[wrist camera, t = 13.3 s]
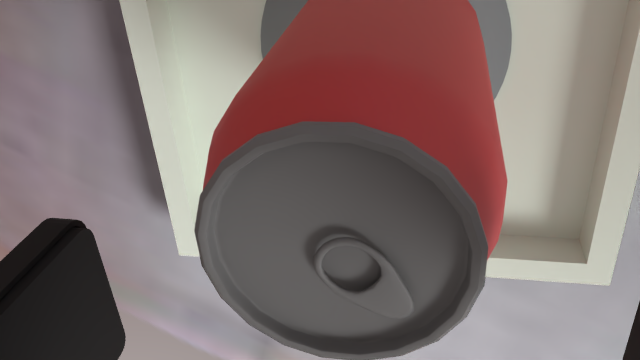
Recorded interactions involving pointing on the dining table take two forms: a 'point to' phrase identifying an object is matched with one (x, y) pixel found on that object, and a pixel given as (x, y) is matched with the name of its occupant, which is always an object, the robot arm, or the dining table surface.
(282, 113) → the beer can
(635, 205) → the dining table surface
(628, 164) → the coaster tray
